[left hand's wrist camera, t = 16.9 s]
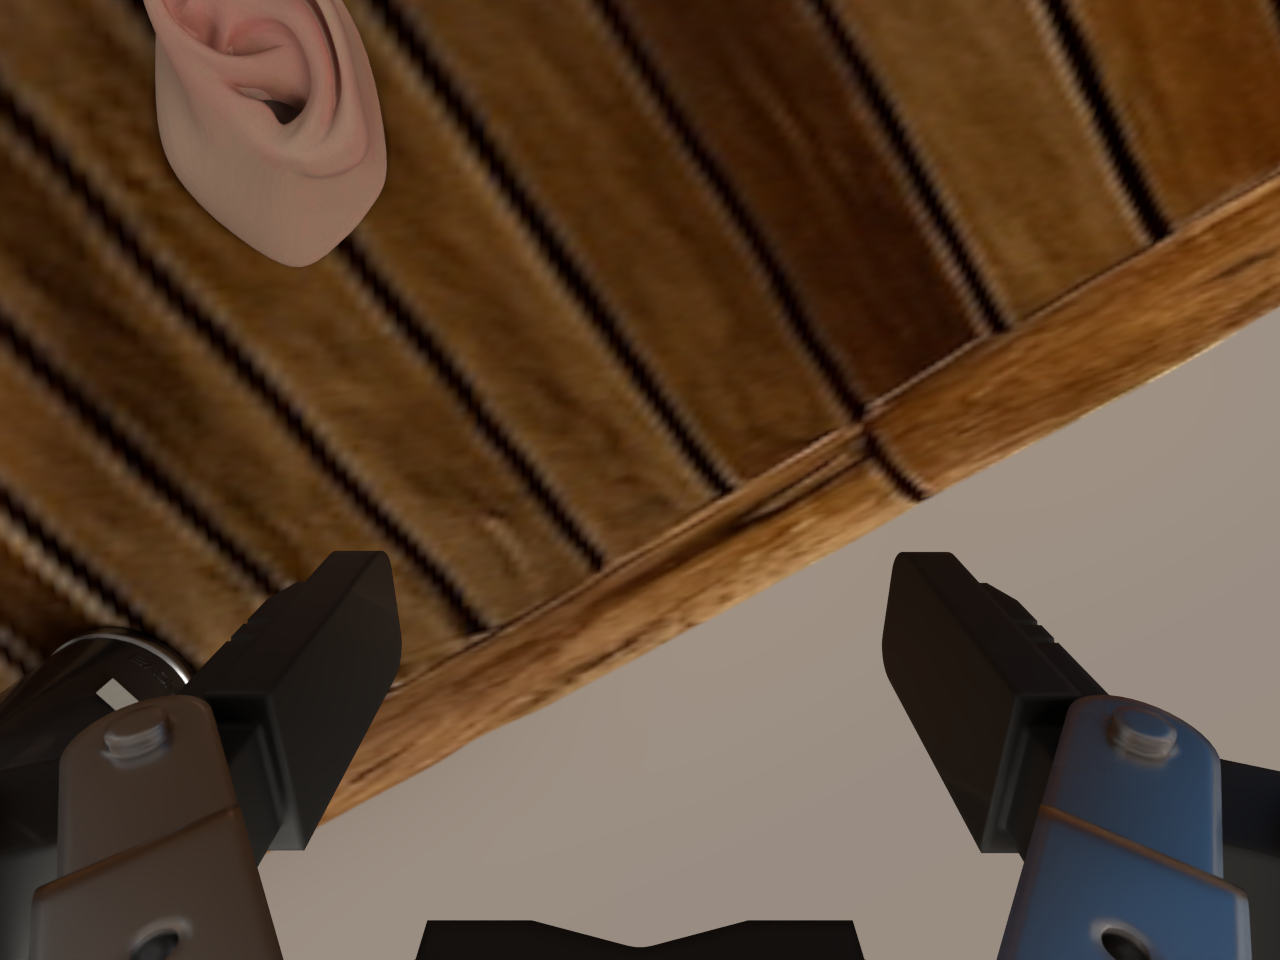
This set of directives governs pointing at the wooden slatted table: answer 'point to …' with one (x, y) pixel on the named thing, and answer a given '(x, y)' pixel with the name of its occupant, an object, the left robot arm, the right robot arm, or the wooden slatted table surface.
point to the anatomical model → (270, 118)
